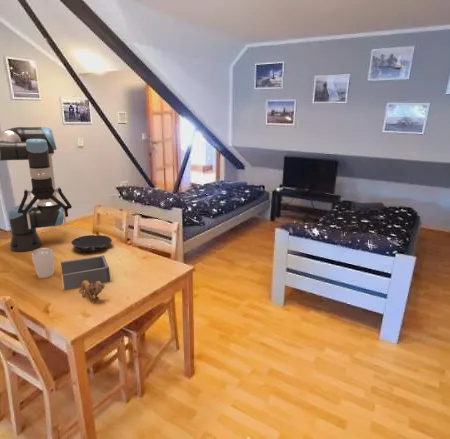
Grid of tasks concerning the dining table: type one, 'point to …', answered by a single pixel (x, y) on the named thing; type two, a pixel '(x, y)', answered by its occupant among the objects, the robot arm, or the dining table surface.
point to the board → (91, 243)
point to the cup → (43, 262)
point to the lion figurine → (92, 288)
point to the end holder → (84, 271)
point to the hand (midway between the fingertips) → (47, 226)
